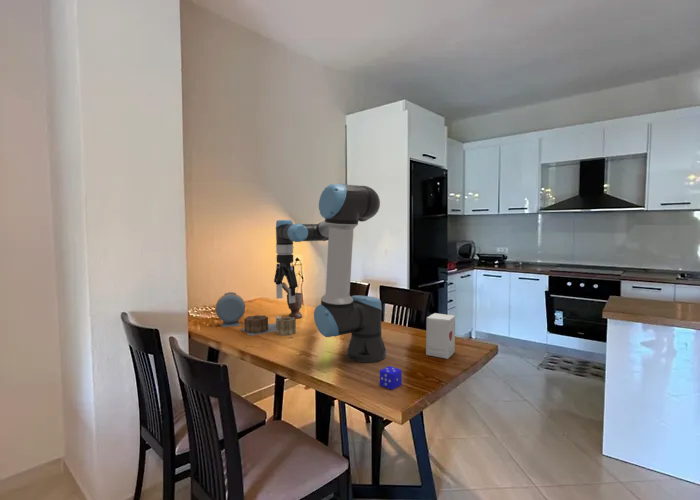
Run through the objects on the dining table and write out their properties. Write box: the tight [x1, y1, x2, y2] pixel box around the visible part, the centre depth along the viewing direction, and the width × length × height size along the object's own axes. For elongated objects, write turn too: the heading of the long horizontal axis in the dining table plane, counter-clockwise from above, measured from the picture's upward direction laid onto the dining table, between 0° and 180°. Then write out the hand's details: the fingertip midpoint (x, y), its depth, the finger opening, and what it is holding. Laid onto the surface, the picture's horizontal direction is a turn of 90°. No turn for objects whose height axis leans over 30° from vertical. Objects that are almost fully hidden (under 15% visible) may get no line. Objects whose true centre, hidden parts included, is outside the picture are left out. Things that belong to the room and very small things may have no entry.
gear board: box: [240, 315, 281, 337], centre depth 181 cm, size 14×22×6 cm, turn 124°
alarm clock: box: [215, 291, 246, 328], centre depth 189 cm, size 14×10×18 cm
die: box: [379, 365, 403, 391], centre depth 119 cm, size 5×5×5 cm
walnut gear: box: [243, 314, 269, 334], centre depth 178 cm, size 10×10×6 cm
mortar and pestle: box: [282, 282, 304, 319], centre depth 208 cm, size 12×9×20 cm
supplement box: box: [425, 312, 456, 360], centre depth 147 cm, size 9×9×15 cm
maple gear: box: [276, 316, 297, 339], centre depth 173 cm, size 9×9×8 cm
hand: (285, 300), depth 172 cm, fingers open, 13 cm apart
